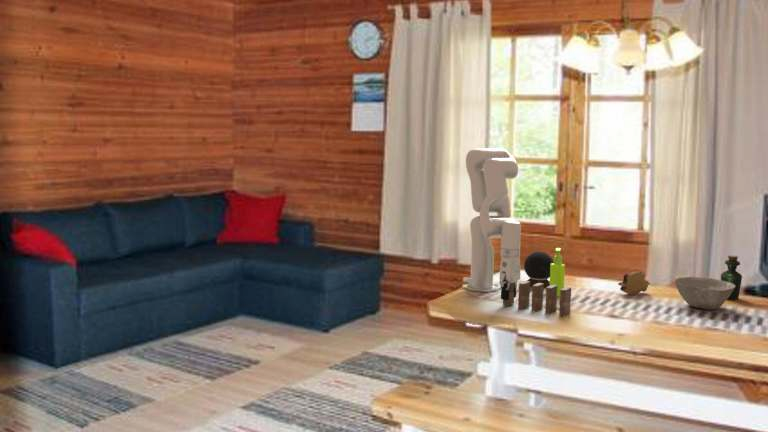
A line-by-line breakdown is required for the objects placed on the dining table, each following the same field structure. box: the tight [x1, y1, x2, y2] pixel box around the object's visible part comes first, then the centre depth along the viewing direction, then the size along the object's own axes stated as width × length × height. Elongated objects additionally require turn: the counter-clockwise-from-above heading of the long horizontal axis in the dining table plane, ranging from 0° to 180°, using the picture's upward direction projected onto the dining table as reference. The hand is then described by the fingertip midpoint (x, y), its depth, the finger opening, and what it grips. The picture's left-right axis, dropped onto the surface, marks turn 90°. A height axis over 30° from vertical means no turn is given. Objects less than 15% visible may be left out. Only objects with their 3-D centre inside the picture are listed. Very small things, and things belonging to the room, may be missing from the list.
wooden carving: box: [617, 270, 650, 296], centre depth 316 cm, size 16×5×10 cm, turn 123°
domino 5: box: [558, 286, 572, 317], centre depth 280 cm, size 2×6×10 cm, turn 146°
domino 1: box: [502, 280, 515, 307], centre depth 293 cm, size 2×6×10 cm, turn 147°
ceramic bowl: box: [673, 276, 735, 311], centre depth 296 cm, size 22×23×10 cm
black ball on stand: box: [523, 250, 554, 289], centre depth 331 cm, size 13×13×15 cm
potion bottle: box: [720, 254, 743, 301], centre depth 312 cm, size 8×8×18 cm
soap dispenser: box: [549, 247, 566, 298], centre depth 311 cm, size 6×7×20 cm
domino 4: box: [544, 285, 558, 315], centre depth 283 cm, size 2×6×10 cm, turn 146°
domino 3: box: [531, 283, 544, 313], centre depth 286 cm, size 2×6×10 cm, turn 146°
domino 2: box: [517, 280, 531, 311], centre depth 289 cm, size 2×6×10 cm, turn 146°
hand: (508, 297), depth 293 cm, fingers closed on domino 1, 5 cm apart
